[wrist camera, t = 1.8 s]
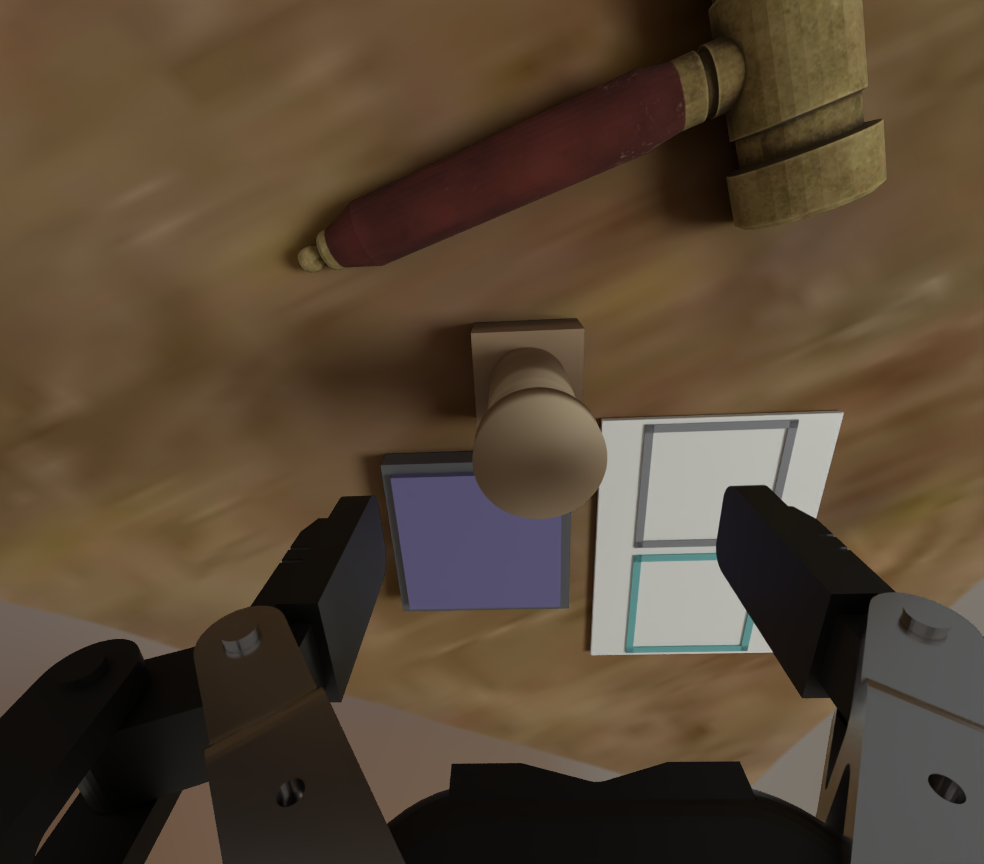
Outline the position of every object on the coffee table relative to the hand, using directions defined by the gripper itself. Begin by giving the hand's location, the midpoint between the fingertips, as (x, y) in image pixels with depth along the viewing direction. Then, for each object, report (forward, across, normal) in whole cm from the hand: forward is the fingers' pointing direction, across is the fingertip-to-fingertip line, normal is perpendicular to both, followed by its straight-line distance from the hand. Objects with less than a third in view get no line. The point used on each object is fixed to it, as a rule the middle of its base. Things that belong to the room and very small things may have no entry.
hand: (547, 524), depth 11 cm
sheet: (+12, -9, +10) cm, 18 cm away
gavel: (+12, -1, -9) cm, 15 cm away
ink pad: (+12, +2, +8) cm, 15 cm away
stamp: (+12, 0, 0) cm, 12 cm away
